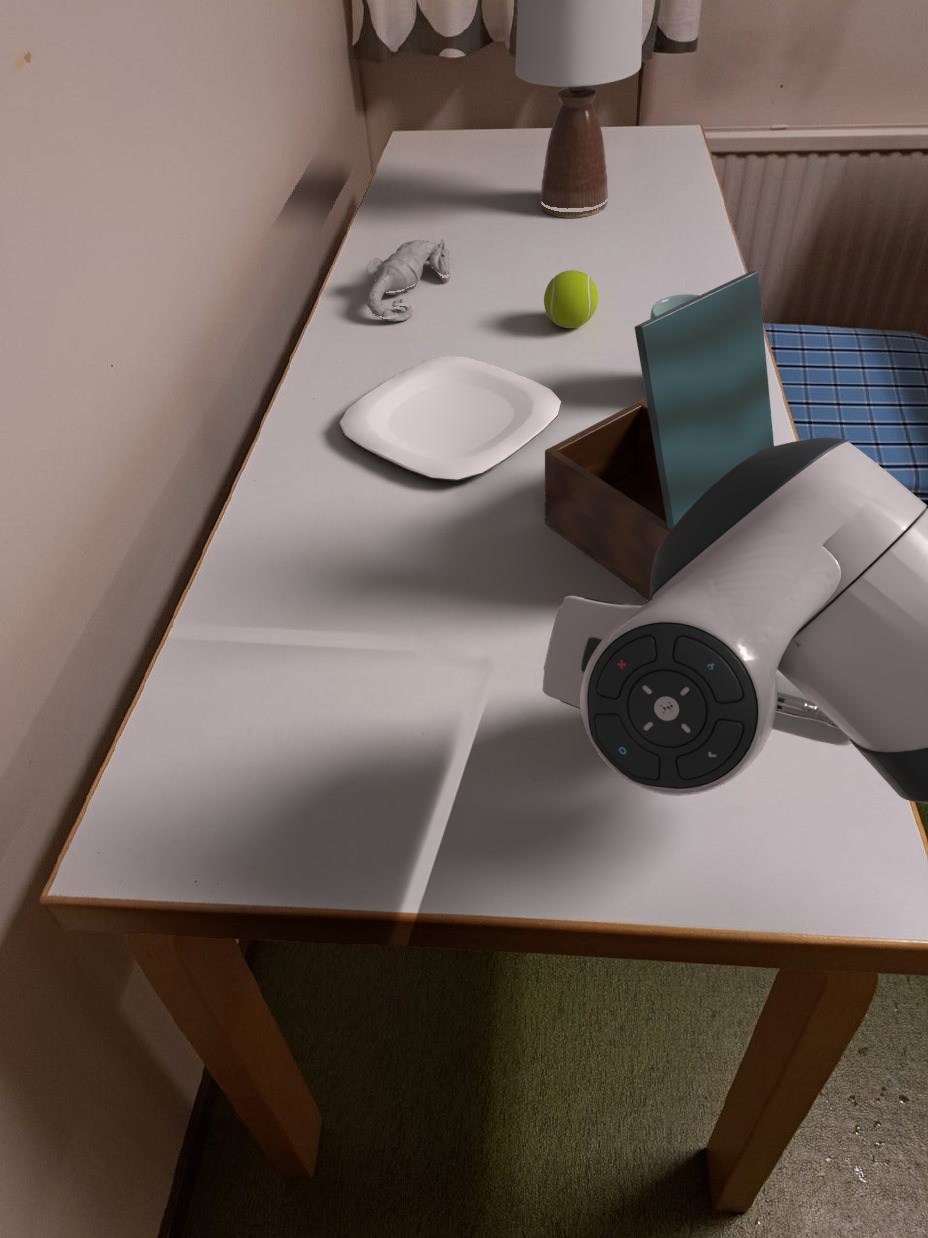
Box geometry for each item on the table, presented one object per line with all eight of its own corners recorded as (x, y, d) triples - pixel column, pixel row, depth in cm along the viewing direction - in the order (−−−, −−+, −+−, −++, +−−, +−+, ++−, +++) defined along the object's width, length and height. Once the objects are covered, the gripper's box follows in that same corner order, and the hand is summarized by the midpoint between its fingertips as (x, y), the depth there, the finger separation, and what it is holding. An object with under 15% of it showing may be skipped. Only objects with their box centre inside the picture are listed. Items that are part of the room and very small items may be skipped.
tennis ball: (596, 311, 113) (599, 260, 108) (596, 337, 108) (599, 284, 103) (544, 312, 114) (544, 261, 109) (542, 338, 109) (543, 285, 104)
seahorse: (436, 318, 112) (461, 235, 123) (353, 291, 111) (386, 209, 122) (428, 348, 117) (453, 265, 128) (348, 322, 115) (380, 240, 126)
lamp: (557, 238, 130) (562, -65, 104) (497, 201, 142) (487, -79, 115) (653, 208, 136) (681, -87, 109) (588, 175, 147) (598, -98, 121)
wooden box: (544, 523, 84) (544, 450, 77) (634, 471, 88) (642, 399, 82) (659, 608, 75) (670, 532, 68) (752, 545, 79) (771, 470, 73)
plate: (460, 505, 86) (459, 492, 85) (319, 435, 97) (316, 423, 96) (582, 410, 97) (583, 397, 96) (443, 356, 108) (442, 344, 106)
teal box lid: (633, 326, 60) (641, 326, 60) (750, 271, 65) (758, 270, 64) (667, 527, 68) (674, 529, 68) (768, 465, 73) (776, 466, 72)
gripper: (900, 675, 45) (865, 662, 58) (540, 588, 51) (582, 594, 65) (869, 786, 46) (842, 749, 59) (517, 687, 52) (563, 673, 65)
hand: (704, 667), depth 62 cm, fingers open, 7 cm apart
